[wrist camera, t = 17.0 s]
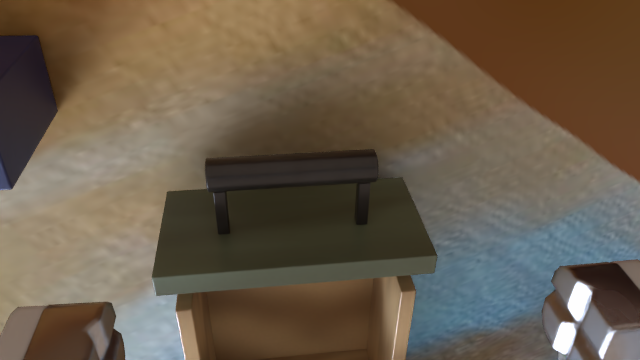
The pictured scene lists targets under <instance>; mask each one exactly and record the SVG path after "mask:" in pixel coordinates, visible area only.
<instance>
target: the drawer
mask: <svg viewBox="0 0 640 360" xmlns="http://www.w3.org/2000/svg"><path fill="white" fill-rule="evenodd" d="M205 174H206V185H207V189H201V190H185V191H168V192H167V196H166V201H165V207H164V212H163V218H162V223H161V229H160V235H159V240H158V246H157V251H156V257H155V262H154V268H153V274H152V281H153V286H154V290H155V295H156V296H161V295H173V294H177V303H176V316H177V321H178V327H179V332H180V337H181V342H182V347H183V352H184V357H185V360H405V359H406V352H407V346H408V340H409V333H410V327H411V321H412V314H413V308H414V302H415V295H416V289H415V286H414V283H413V281H412V278H411V275H418V274H431V273H434V272H435V267H436V261H437V256H438V255H437V253H436V251H435V249H434V246H433V244H432V242H431V240H430V238H429V235H428V233H427V231H426V229H425V226H424V224H423V222H422V220H421V218H420V215H419V213H418V211H417V209H416V206H415V204H414V202H413V200H412V198H411V195H410V193H409V191H408V189H407V186H406V184H405V182H404V180H403V178H402V177H398V178H382V179H377V178H378V159H377V154H376V152H375V150H373V149H368V150H349V151H331V152H313V153H295V154H276V155H258V156H240V157H222V158H207V159H206V162H205Z"/></svg>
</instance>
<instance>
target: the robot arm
mask: <svg viewBox="0 0 640 360" xmlns="http://www.w3.org/2000/svg"><path fill="white" fill-rule="evenodd" d="M551 282H552V284H553V285H554V287H555V290H554V291H553V292H552V293H551V294H550V295H549V296H547V297H546V298H545V301H544V305H543V308H542V322H543V327H544V330H545V333H546V336H547V338H548V340H549V342H550V344H551V345H552V347H553V348H554V349H556V350H557V351H559V352H560V353H562V354H563V355H565V356H566V360H640V261H639V260H637V259H636V260H624V261H613V262H601V263H590V264H579V265H567V266H560V267H559V268H558V269H557V270H556V271H555V272H554V274H553V277H552V280H551ZM115 318H116V315H115V312H114V309H113V306H112V303H110V302H92V303H74V304H55V305H47V306H28V307H17V308H16V309H15V310H14V311H13V312H12V313H11V314H10V316H9V318H8V320H7V322H6V324H5V327H4V329H3V331H2V333H1V335H0V360H125V350H124V342H123V339H122V335H121V333H119V332H118V331H116V330H115V329H114V328H113V327H114V323H115Z"/></svg>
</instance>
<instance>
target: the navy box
mask: <svg viewBox="0 0 640 360" xmlns="http://www.w3.org/2000/svg"><path fill="white" fill-rule="evenodd" d="M57 111H58V110H57V106H56V102H55V99H54V95H53V91H52V87H51V83H50V80H49V76H48V72H47V68H46V65H45V61H44V57H43V53H42V49H41V46H40V42H39V38H38V36H36V35H32V36H0V190H11V189H12V188H13V187H14V185H15V183H16V182H17V180H18V178H19V177H20V175H21V173H22V171H23V170H24V168H25V166H26V165H27V163H28V161H29V159H30V158H31V156H32V154H33V153H34V151H35V149H36V148H37V146H38V144H39V142H40V141H41V139H42V137H43V136H44V134H45V132H46V130H47V129H48V127H49V125H50V124H51V122H52V120H53V118H54V117H55V115H56V113H57Z"/></svg>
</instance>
